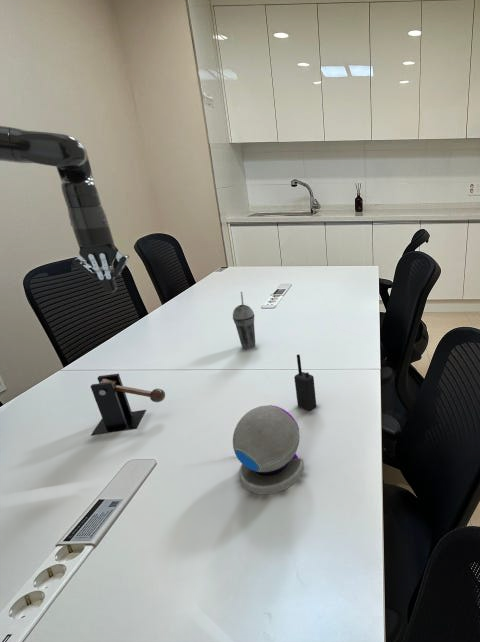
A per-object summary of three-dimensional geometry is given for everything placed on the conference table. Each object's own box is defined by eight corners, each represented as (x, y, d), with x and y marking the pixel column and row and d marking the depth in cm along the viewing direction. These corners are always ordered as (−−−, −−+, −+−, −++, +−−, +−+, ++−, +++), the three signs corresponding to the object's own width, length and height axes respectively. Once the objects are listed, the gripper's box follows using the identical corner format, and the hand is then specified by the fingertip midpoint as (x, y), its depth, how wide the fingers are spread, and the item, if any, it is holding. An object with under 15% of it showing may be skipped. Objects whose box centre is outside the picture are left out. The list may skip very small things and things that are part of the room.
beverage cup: (234, 350, 135) (223, 295, 127) (245, 341, 142) (235, 289, 133) (252, 352, 134) (243, 296, 125) (263, 343, 140) (254, 290, 132)
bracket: (147, 413, 102) (133, 369, 96) (138, 432, 94) (122, 385, 89) (105, 419, 100) (88, 374, 94) (92, 438, 92) (73, 391, 87)
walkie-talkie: (317, 405, 103) (312, 355, 97) (308, 412, 100) (303, 361, 94) (304, 400, 105) (298, 351, 99) (295, 406, 103) (289, 356, 97)
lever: (165, 398, 99) (168, 387, 98) (161, 406, 96) (164, 394, 95) (102, 387, 94) (104, 375, 93) (96, 394, 91) (98, 382, 90)
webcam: (315, 462, 83) (308, 404, 77) (273, 504, 73) (262, 441, 67) (270, 443, 89) (261, 387, 83) (226, 479, 79) (212, 419, 73)
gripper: (125, 221, 100) (142, 286, 108) (67, 224, 98) (89, 290, 105) (114, 225, 94) (134, 294, 101) (52, 229, 91) (77, 299, 98)
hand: (111, 292), depth 103 cm, fingers closed
